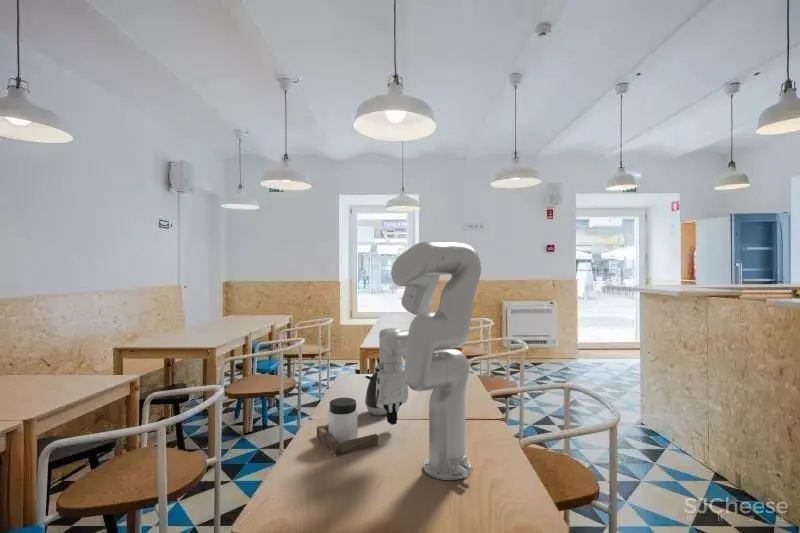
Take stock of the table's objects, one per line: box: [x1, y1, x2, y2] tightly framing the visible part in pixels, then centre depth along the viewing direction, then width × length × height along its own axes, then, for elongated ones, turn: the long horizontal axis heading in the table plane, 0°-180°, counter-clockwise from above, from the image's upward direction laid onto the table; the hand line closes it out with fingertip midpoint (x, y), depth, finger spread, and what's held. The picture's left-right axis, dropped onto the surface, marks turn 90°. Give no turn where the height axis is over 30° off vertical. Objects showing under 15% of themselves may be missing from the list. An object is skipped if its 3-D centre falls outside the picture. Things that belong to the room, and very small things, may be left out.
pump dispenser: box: [364, 371, 387, 416], centre depth 151 cm, size 10×10×15 cm
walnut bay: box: [316, 419, 379, 457], centre depth 127 cm, size 16×14×3 cm
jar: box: [327, 397, 358, 443], centre depth 128 cm, size 9×8×12 cm
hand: (392, 423), depth 135 cm, fingers closed
